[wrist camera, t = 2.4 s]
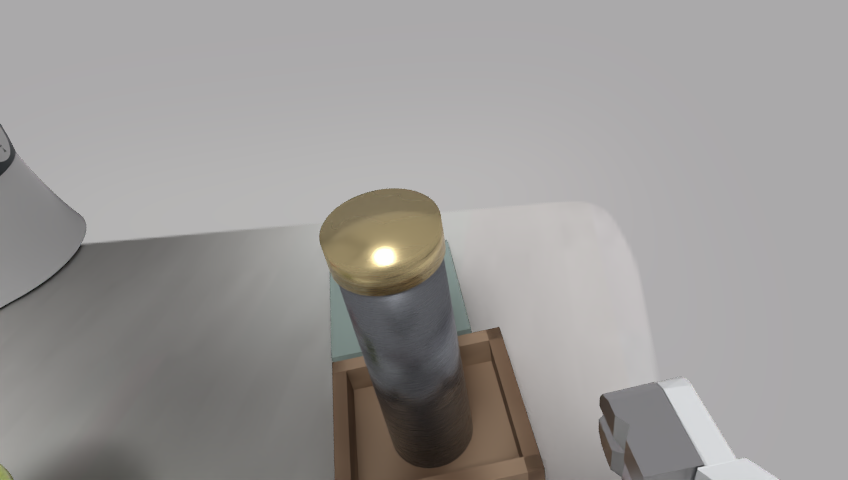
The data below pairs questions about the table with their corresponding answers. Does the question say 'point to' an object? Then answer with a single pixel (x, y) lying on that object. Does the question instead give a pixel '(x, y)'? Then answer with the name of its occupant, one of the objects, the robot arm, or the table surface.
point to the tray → (490, 411)
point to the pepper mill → (403, 318)
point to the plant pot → (4, 474)
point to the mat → (343, 331)
